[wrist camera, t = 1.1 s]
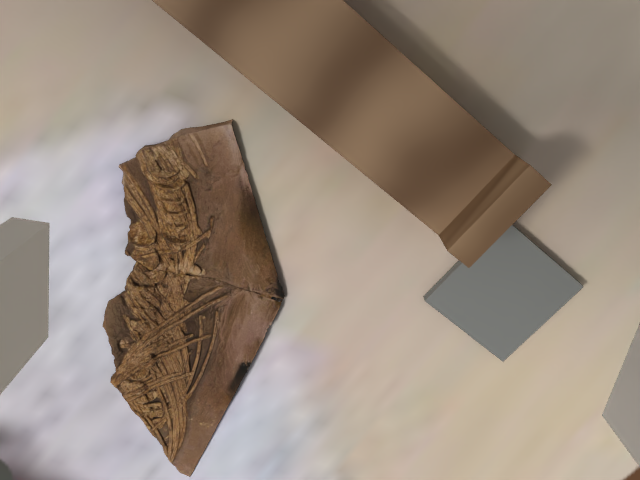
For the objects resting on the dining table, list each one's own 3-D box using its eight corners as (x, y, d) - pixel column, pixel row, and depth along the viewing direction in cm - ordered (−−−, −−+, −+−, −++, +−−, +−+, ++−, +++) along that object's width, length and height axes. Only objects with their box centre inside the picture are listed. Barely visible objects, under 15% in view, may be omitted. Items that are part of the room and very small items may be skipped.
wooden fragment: (128, 96, 33) (122, 99, 32) (318, 137, 34) (318, 141, 33) (93, 455, 42) (88, 465, 41) (244, 479, 43) (242, 490, 42)
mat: (423, 296, 37) (424, 300, 37) (502, 216, 36) (505, 219, 35) (500, 356, 39) (502, 361, 38) (579, 282, 37) (583, 286, 37)
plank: (117, -37, 30) (83, -47, 26) (183, -140, 29) (158, -170, 24) (449, 237, 36) (469, 268, 31) (520, 163, 34) (551, 184, 30)
